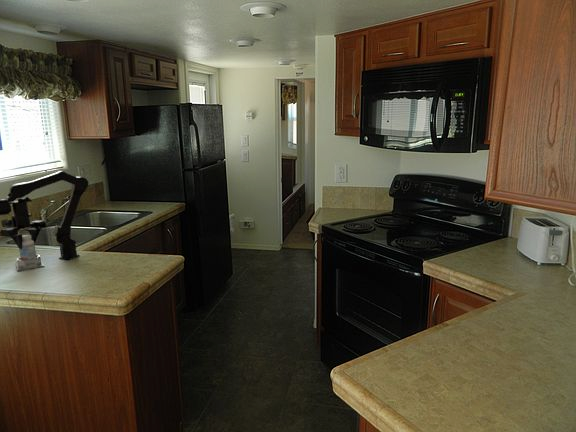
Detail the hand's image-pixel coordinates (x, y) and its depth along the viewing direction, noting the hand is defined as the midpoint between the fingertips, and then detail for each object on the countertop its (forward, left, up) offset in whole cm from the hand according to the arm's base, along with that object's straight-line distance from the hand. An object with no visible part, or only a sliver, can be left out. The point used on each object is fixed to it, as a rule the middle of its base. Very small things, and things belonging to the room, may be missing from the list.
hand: (27, 246), depth 190 cm
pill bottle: (0, 0, -6) cm, 6 cm away
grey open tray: (0, 0, -8) cm, 8 cm away
